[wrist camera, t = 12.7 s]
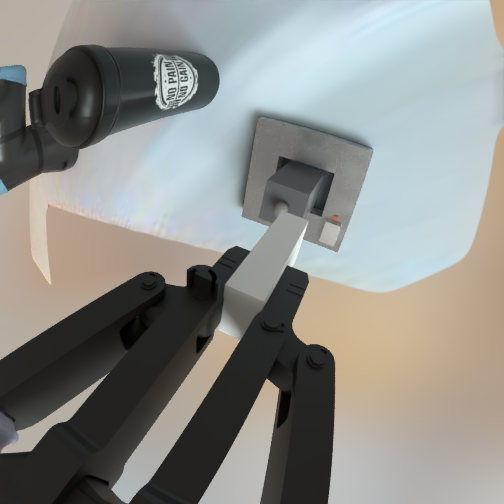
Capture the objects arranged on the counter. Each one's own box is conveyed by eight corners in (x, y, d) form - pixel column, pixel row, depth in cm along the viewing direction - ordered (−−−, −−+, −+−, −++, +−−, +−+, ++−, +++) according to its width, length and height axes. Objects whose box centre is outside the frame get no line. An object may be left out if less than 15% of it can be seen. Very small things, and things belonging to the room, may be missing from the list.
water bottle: (226, 114, 35) (78, 160, 17) (167, 116, 38) (30, 162, 20) (225, 44, 29) (68, 32, 11) (164, 54, 32) (19, 68, 15)
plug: (284, 190, 37) (254, 222, 29) (292, 159, 34) (262, 183, 27) (315, 202, 36) (294, 238, 28) (325, 171, 33) (306, 199, 26)
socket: (247, 210, 41) (239, 218, 39) (263, 116, 33) (255, 118, 31) (339, 244, 38) (336, 255, 36) (373, 149, 29) (373, 153, 27)
